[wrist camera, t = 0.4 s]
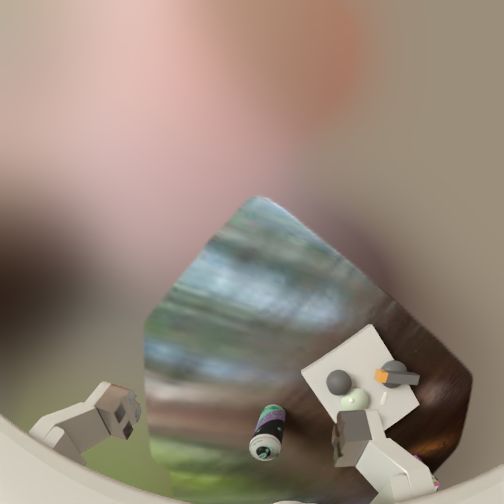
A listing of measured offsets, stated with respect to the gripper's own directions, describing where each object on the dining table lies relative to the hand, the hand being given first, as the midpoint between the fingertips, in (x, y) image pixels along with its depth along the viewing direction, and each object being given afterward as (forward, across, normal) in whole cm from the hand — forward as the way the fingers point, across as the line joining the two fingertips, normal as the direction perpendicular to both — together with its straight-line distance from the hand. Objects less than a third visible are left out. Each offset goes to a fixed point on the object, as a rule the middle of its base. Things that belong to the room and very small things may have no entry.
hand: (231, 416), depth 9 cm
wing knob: (+38, +26, -30) cm, 55 cm away
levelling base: (+39, +21, -36) cm, 57 cm away
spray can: (+37, +1, -42) cm, 56 cm away
